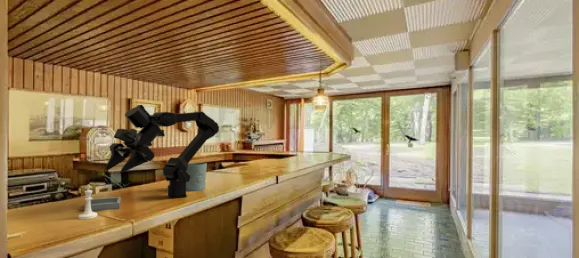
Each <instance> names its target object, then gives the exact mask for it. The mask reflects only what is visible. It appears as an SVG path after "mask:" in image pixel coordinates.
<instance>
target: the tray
mask: <svg viewBox="0 0 579 258" xmlns="http://www.w3.org/2000/svg"><path fill="white" fill-rule="evenodd" d="M121 202H122V196H115V197H105V198H104V197H103V198H101V197H100V198H93V199H91V200H90V203H91V210H92V212H97V211H99V210H100V211H108V210H109V209H110V210H118V209H120V206H121V204H122V203H121ZM85 207H86V203H85V204H84V207H83V208H84V209H83V212H84V211H85ZM107 209H108V210H107ZM110 210H109V211H110Z"/></svg>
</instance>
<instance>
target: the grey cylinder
mask: <svg viewBox="0 0 579 258" xmlns="http://www.w3.org/2000/svg"><path fill="white" fill-rule="evenodd" d="M207 164H208V163H207V162H189V163H188V168H187V171H186V172H187V173H188V174H189V175H190V180H189V182H186V192H187V191H188V192H200V191H205V190H206V184H207V182H206V180H207V179H206V178H207V168H208V167H207V166H208V165H207Z"/></svg>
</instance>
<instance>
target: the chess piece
mask: <svg viewBox="0 0 579 258" xmlns="http://www.w3.org/2000/svg"><path fill="white" fill-rule="evenodd" d="M92 188H93V186H91V185H90V184H87V186H84V189H87V190H84V194H85V198H84V201H86V203H85V204H86V207H85V211H84V210H83V212H82V213H80V214H79V215H78V217H77V219H79V220H91V219H94V218H97V217H98V213H97V211H92V210H91V203H90V200H91V199H94V198H93V197H91V196H92V194H93V190H91V189H92Z"/></svg>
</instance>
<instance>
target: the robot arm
mask: <svg viewBox="0 0 579 258" xmlns="http://www.w3.org/2000/svg"><path fill="white" fill-rule="evenodd" d="M124 116H125V118H126V119H127V120H128V121H129V122H130V123H131V124H132V126H134V127H135V128H136V129H135V128H129V129H125V128H117V129H116V131H115V134H114V136H113V138H114V139H117V140H120V141H123V142H121V143H119V142H118V143H117V142H113V143H112V144H110V145H109V146H108V148H109V151H110V153H111V154H110V157H109V159H108V161H107V164H106V165H105V167H104V168H105V170H106V171H109V170H111V169H112V168H114V167H116V166H117V165H119V164H121V163H122V162H124V161H126V159H127V158H128V159H127V161H126V162H125V163H124V165H123V166H122V168H121V169H120V171H121V172H122V173H125V172H128V171H129V170H131V169H133V168H136V167H137V166H138V167H139V166H140V165H142V164H146V163H148V162H152V160H153V159H154V158H155V152H154V151H153V150H152V149H151V148H150V147H152V146H153V143H152V142H153V141H154V140H155V139H156V138H157V137H159V138H160V137H162V138H163V137H165V136H166V135H165V130H164V129H161V128H162V127H163V128H165V127H167V128H168V127H171V126H174V125H177V124H179V123H185V122H195V125H196V127H197V134H196V135H195V136H194V138H193V139H191V141H190V142H189V143H188V145H187V146H186V147H185V148H184V149H183V151H182V152H181V153H180V154H179V155H178V156H177V157H170V158H169V159H168V161H167V162H165V163H164V166H163V168H162V173H163V176H164V177H165V181H166V182H168V185H167V196H168V197H169V199H177V198H186V197H187V190H186V182H189V180H190V175H189V174H188V173H187V172H186V171H187V168H188V163H191V160H192V159H193V158H194V157H195V156H196V154H197V153H198V152H199V150H200V149H201V148H202V147H203V145H204V144H205V143H206V142H207V140H209V139H211V138H213V137H215V135H217V134H218V133H219V131H220V126H219V124H218V122H216V121H215V120H214V119H213V118H212V117H210V116H208V114H206V113H205V112H204V111H194V112H193V111H192V112H181V113H177V112H169V111H157V112H154V113H152V114H150V113H149V112H148V111H147V109H145V106H144V105H143V104H138V105H137V106H135V107H132V108H130V109H128V110H127V111H126V112H125V114H124ZM138 128H139V129H140V130H139V131H138V130H137V129H138ZM129 156H130V157H129Z"/></svg>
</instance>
